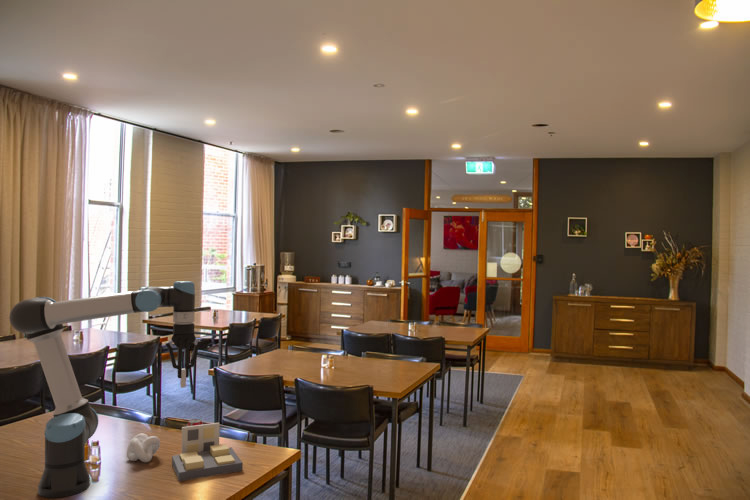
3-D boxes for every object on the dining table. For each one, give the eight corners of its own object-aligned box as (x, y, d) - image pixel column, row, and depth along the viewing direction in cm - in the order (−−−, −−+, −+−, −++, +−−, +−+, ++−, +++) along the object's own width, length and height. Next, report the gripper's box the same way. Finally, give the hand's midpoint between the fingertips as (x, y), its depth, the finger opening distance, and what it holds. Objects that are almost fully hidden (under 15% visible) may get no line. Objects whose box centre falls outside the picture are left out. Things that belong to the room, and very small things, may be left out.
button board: (179, 481, 195) (179, 446, 195) (170, 460, 215) (170, 428, 215) (242, 470, 205) (242, 437, 205) (228, 451, 225) (229, 421, 225)
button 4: (217, 471, 203) (217, 462, 203) (214, 465, 208) (214, 457, 208) (234, 468, 205) (234, 460, 205) (230, 462, 211) (231, 454, 211)
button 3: (212, 458, 211) (213, 450, 211) (209, 453, 216) (209, 445, 216) (229, 456, 213) (229, 448, 213) (225, 451, 219) (225, 443, 219)
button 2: (185, 472, 198) (186, 463, 198) (183, 466, 203) (183, 458, 203) (203, 469, 200) (203, 460, 200) (200, 463, 206) (200, 455, 206)
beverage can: (197, 454, 222) (198, 423, 222) (183, 452, 223) (183, 422, 223) (205, 448, 228) (206, 418, 228) (191, 447, 229) (192, 417, 229)
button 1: (182, 467, 206) (182, 459, 206) (179, 462, 211) (179, 453, 211) (199, 464, 208) (199, 456, 208) (196, 459, 214) (196, 451, 214)
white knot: (117, 462, 212) (117, 438, 212) (140, 452, 223) (140, 429, 223) (141, 467, 208) (141, 442, 208) (163, 456, 219) (164, 433, 219)
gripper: (166, 324, 203) (165, 390, 203) (203, 323, 209) (203, 387, 209) (164, 322, 210) (163, 386, 210) (200, 321, 216) (199, 382, 215)
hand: (183, 386), depth 209 cm, fingers closed
